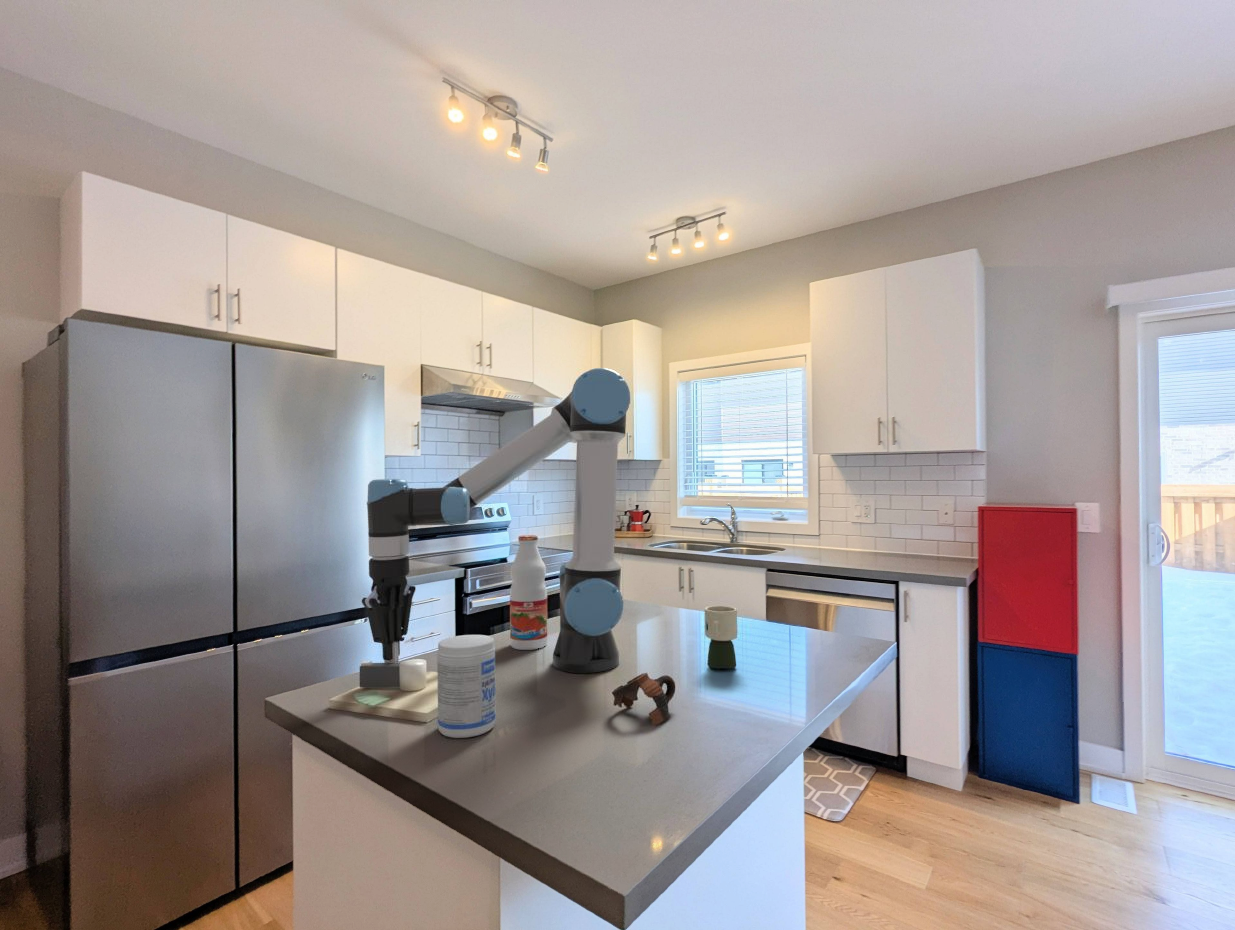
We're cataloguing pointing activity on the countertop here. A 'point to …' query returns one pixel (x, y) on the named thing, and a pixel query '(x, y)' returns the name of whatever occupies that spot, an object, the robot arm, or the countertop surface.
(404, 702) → the board
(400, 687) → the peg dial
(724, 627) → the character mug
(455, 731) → the supplement tub
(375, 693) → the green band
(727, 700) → the countertop surface
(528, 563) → the fruit juice
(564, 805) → the countertop surface
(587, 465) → the robot arm
